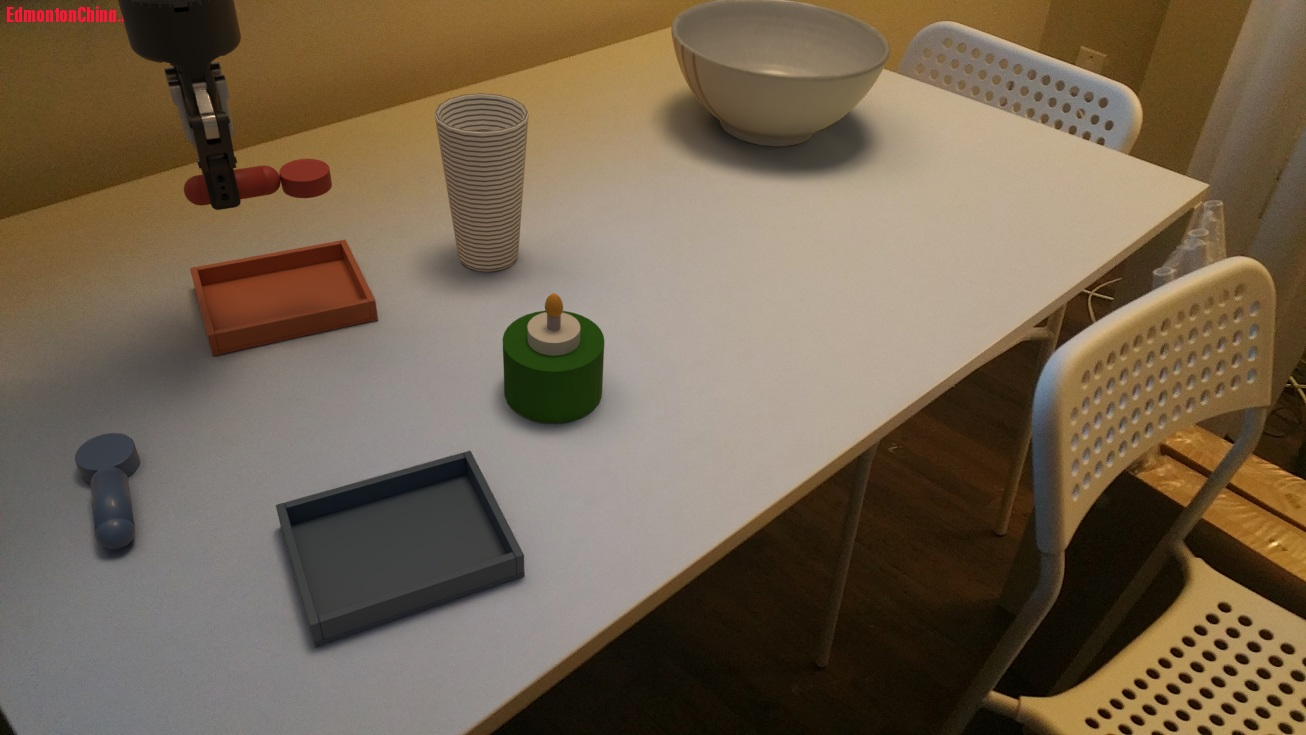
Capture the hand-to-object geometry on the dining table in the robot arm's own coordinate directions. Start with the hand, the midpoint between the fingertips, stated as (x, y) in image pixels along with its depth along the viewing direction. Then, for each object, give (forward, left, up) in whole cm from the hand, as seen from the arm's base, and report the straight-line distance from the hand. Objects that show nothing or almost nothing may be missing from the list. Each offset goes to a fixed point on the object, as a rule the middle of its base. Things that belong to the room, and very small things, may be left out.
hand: (223, 197), depth 80 cm
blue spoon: (-13, -18, -13) cm, 25 cm away
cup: (+23, +3, -13) cm, 27 cm away
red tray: (+3, +2, -13) cm, 13 cm away
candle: (+21, -19, -13) cm, 31 cm away
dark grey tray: (+5, -31, -13) cm, 34 cm away
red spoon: (+3, 0, 0) cm, 3 cm away
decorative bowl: (+67, +20, -13) cm, 71 cm away
